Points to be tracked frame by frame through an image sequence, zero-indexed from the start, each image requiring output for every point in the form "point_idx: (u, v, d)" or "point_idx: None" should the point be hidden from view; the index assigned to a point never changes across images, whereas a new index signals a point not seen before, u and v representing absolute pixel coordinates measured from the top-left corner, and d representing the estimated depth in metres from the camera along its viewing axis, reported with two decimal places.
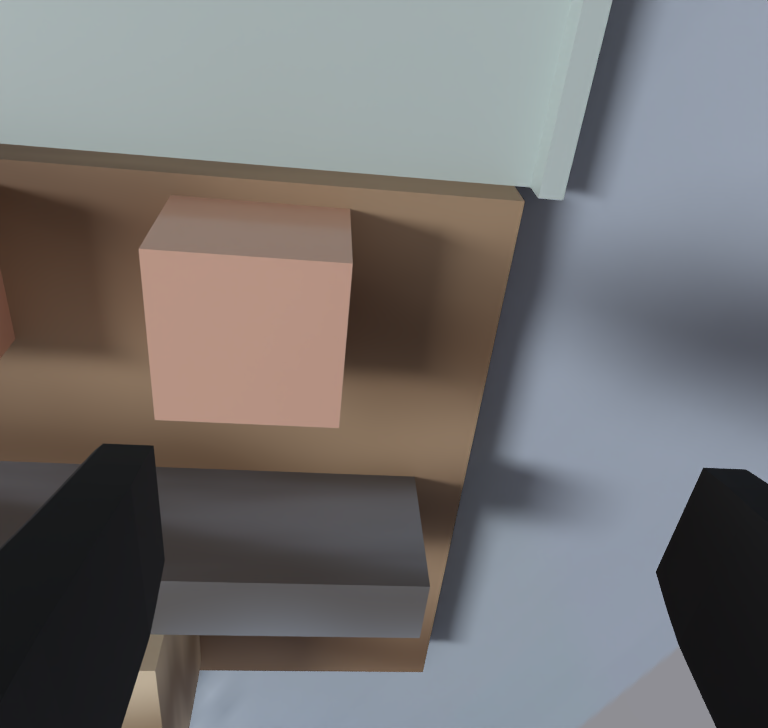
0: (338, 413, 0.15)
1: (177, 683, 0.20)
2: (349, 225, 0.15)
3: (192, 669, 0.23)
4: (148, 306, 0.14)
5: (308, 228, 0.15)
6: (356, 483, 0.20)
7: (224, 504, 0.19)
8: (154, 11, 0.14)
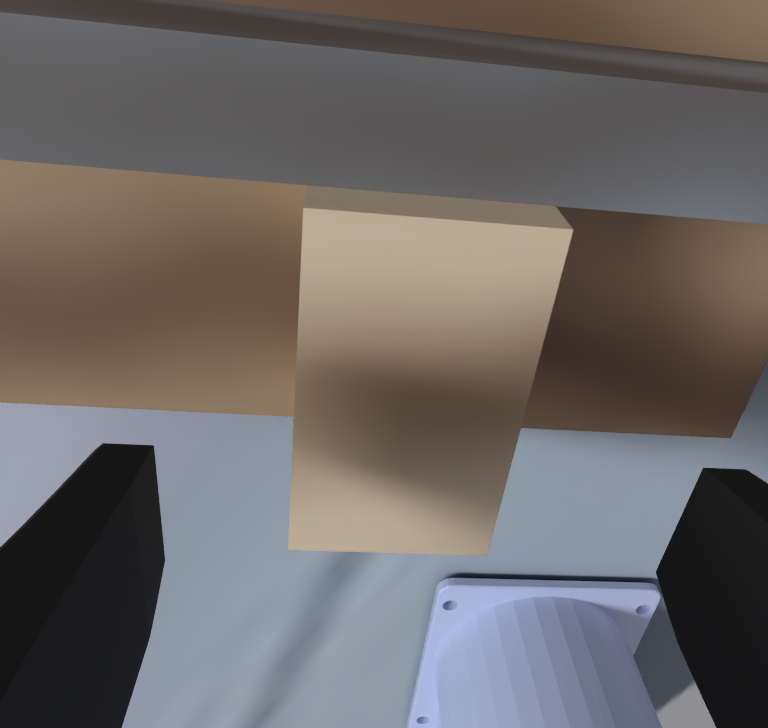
0: None
1: None
2: None
3: None
4: None
5: None
6: (764, 64, 0.14)
7: (608, 53, 0.12)
8: None
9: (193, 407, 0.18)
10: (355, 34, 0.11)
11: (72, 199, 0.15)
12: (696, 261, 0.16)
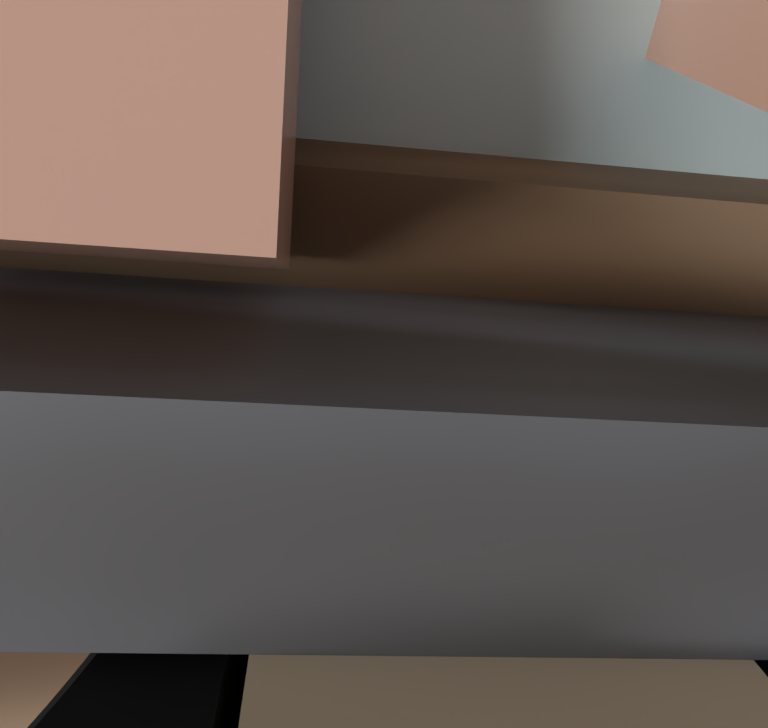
0: None
1: None
2: None
3: None
4: None
5: None
6: None
7: (761, 341, 0.08)
8: None
9: None
10: (346, 344, 0.06)
11: None
12: None
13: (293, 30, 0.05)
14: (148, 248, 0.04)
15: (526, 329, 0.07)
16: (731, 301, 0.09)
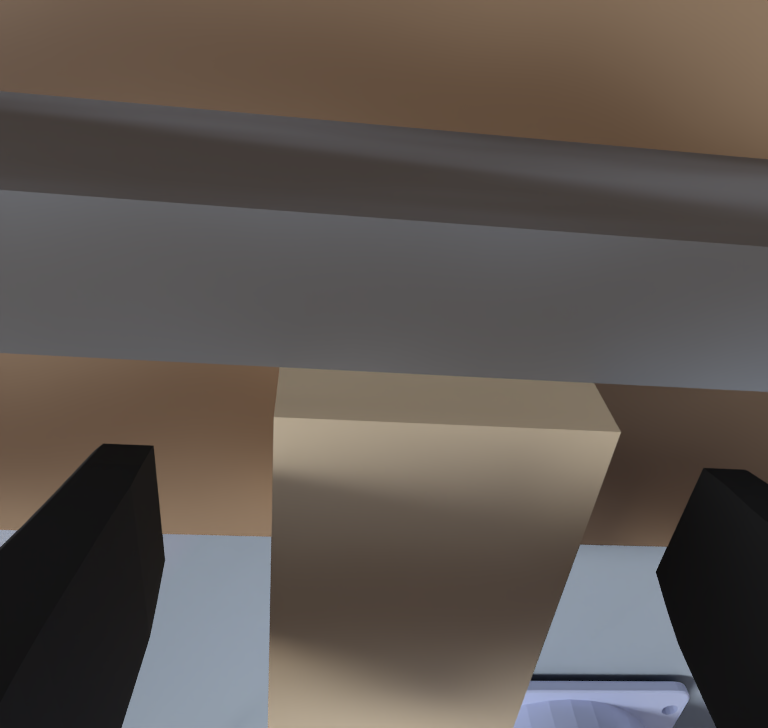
0: None
1: None
2: None
3: None
4: None
5: None
6: None
7: (652, 173, 0.10)
8: None
9: (163, 529, 0.15)
10: (341, 170, 0.09)
11: None
12: None
13: None
14: None
15: (476, 160, 0.10)
16: None
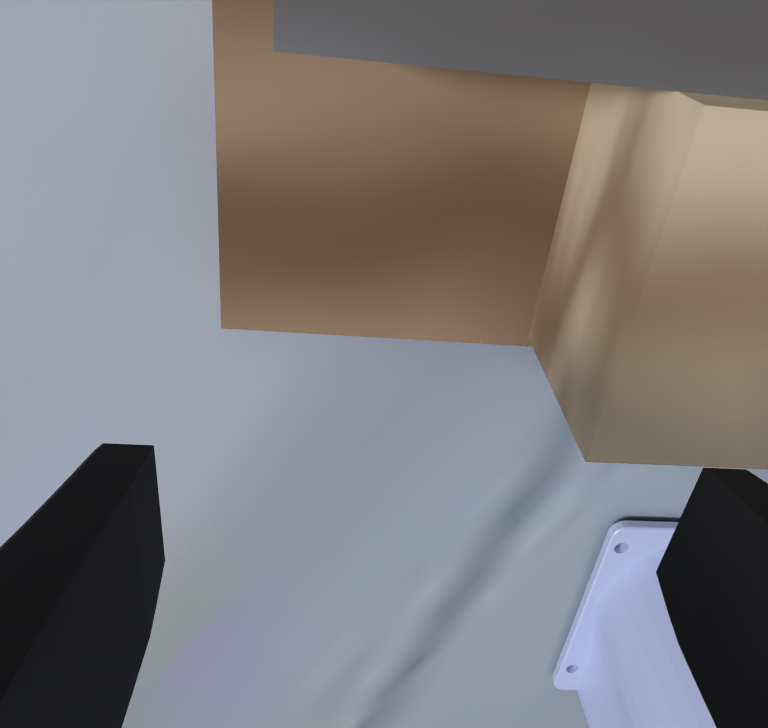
0: None
1: None
2: None
3: None
4: None
5: None
6: None
7: None
8: None
9: (428, 335, 0.18)
10: None
11: (356, 119, 0.15)
12: None
13: None
14: None
15: None
16: None
